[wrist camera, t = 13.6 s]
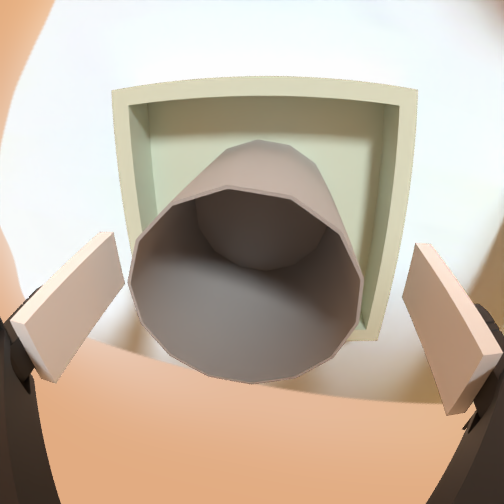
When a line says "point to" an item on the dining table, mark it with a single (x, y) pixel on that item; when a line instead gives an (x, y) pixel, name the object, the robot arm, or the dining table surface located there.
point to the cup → (249, 269)
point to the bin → (286, 132)
